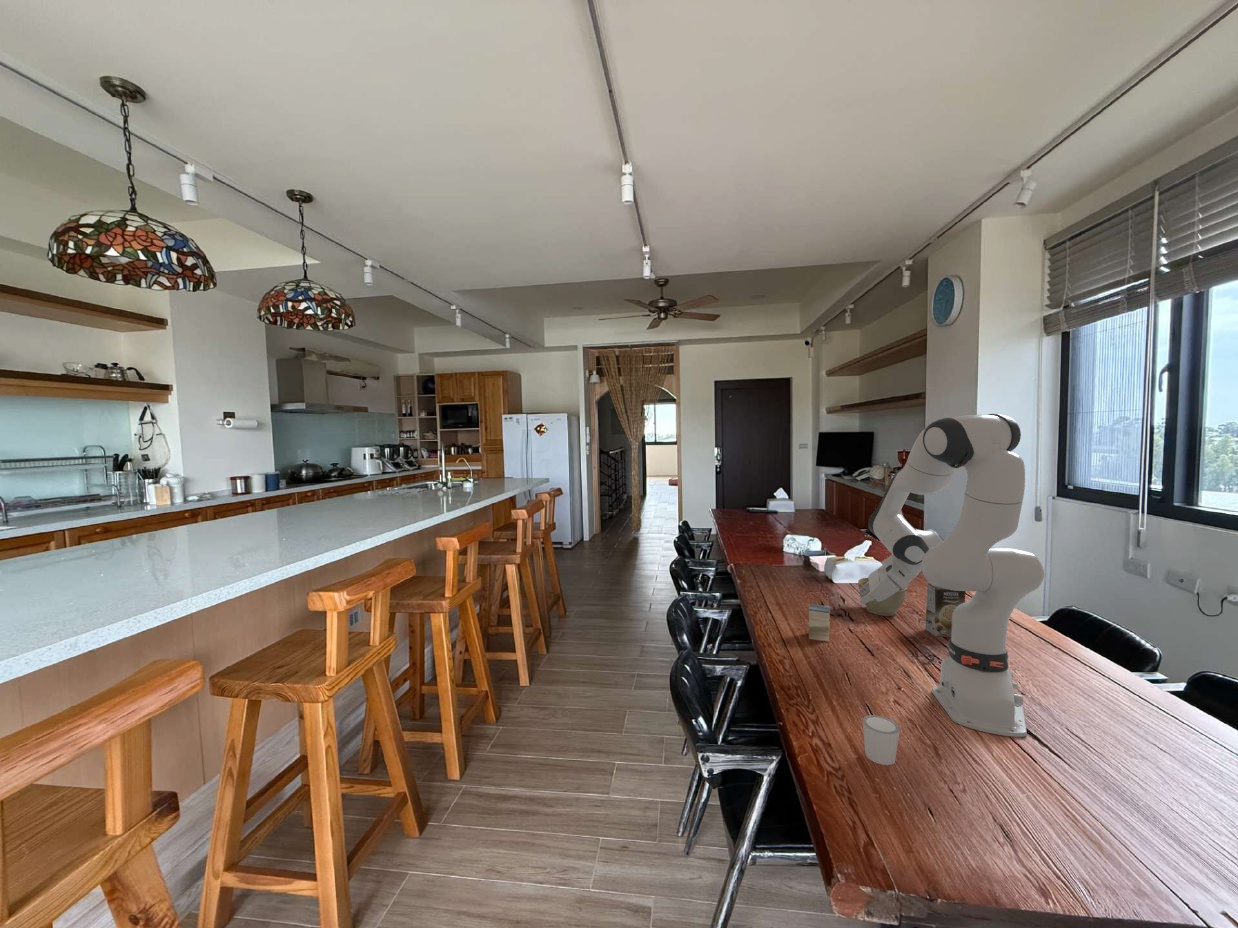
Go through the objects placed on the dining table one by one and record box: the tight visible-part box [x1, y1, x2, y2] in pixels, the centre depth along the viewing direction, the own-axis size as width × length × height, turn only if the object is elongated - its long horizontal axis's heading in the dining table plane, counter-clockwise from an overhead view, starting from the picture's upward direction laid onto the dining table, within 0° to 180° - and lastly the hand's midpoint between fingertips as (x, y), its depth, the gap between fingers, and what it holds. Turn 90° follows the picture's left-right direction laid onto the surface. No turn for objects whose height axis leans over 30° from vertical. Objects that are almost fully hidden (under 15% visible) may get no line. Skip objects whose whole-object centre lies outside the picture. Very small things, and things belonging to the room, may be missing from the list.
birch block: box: [808, 603, 831, 642], centre depth 164 cm, size 5×6×10 cm
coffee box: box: [924, 583, 966, 638], centre depth 166 cm, size 9×6×16 cm
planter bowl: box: [857, 577, 908, 617], centre depth 186 cm, size 16×16×11 cm
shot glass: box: [862, 714, 900, 766], centre depth 104 cm, size 7×7×7 cm
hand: (860, 597), depth 158 cm, fingers open, 8 cm apart
